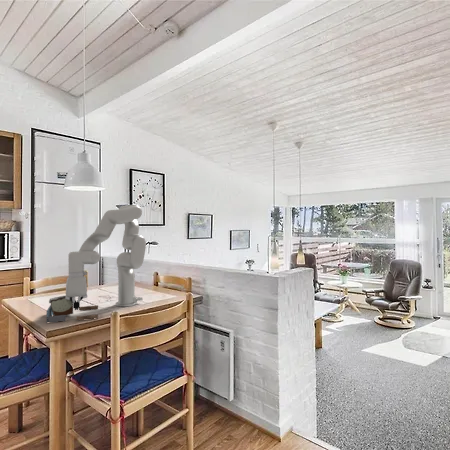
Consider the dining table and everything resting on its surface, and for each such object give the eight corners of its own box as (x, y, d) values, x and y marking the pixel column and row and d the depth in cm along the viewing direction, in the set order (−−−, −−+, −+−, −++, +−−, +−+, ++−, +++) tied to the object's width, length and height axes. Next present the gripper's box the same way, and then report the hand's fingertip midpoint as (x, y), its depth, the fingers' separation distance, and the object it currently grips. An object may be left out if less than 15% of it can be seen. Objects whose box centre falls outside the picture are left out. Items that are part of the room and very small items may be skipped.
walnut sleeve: (98, 308, 186) (98, 305, 186) (97, 318, 165) (97, 314, 165) (79, 310, 182) (79, 306, 182) (76, 320, 162) (76, 316, 162)
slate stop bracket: (69, 311, 179) (69, 300, 179) (65, 321, 161) (65, 309, 161) (52, 313, 176) (52, 302, 176) (46, 323, 158) (46, 310, 158)
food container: (71, 312, 176) (69, 294, 177) (76, 313, 172) (73, 294, 173) (47, 318, 167) (44, 299, 168) (51, 319, 163) (49, 299, 164)
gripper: (91, 273, 178) (91, 306, 178) (61, 274, 172) (61, 309, 172) (91, 275, 171) (91, 309, 171) (59, 276, 165) (60, 312, 165)
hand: (76, 309), depth 172 cm, fingers closed
